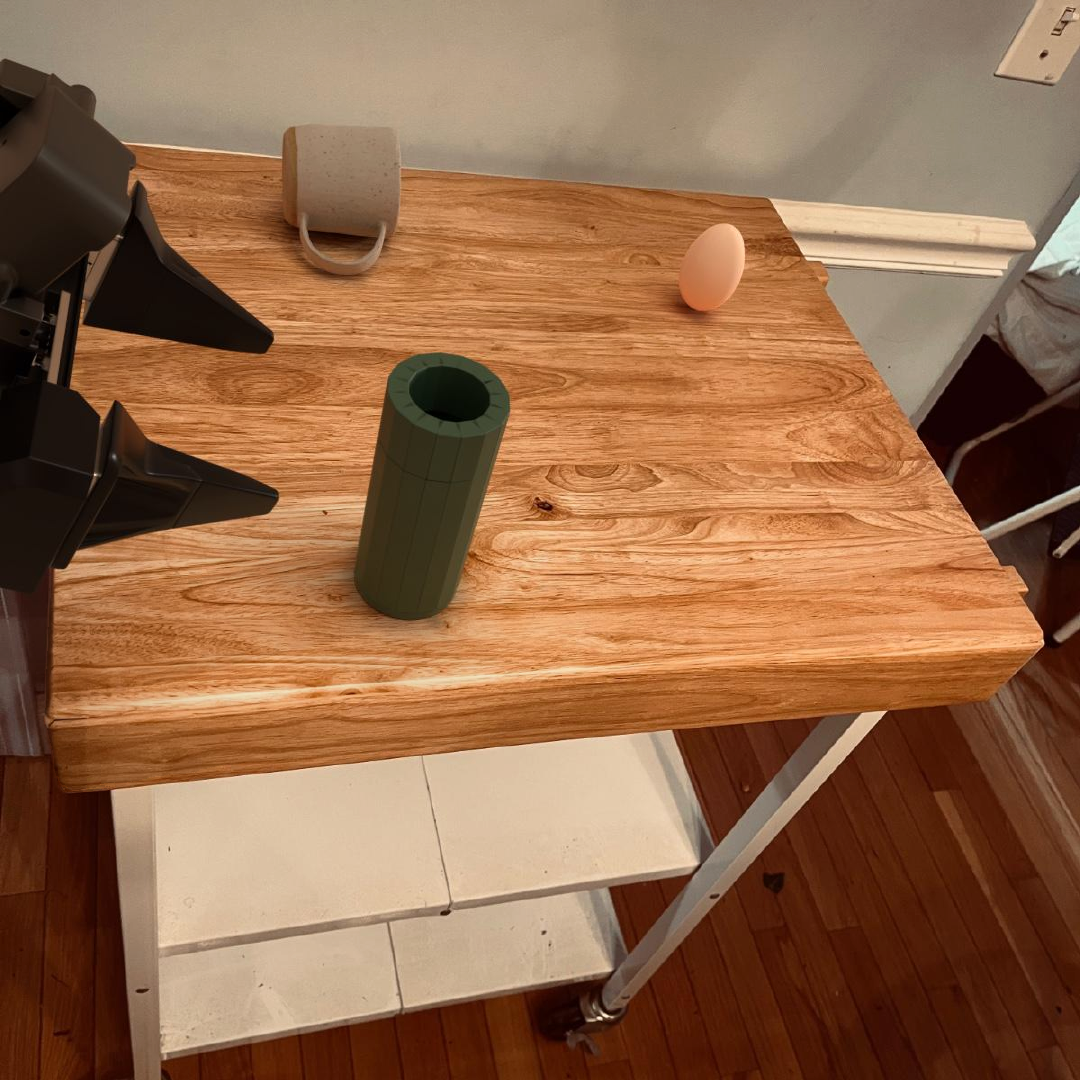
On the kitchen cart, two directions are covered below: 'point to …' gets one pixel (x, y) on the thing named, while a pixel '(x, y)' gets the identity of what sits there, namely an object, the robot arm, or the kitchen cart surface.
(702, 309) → the egg
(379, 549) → the hollow cylinder
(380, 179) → the ceramic mug
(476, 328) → the kitchen cart surface
